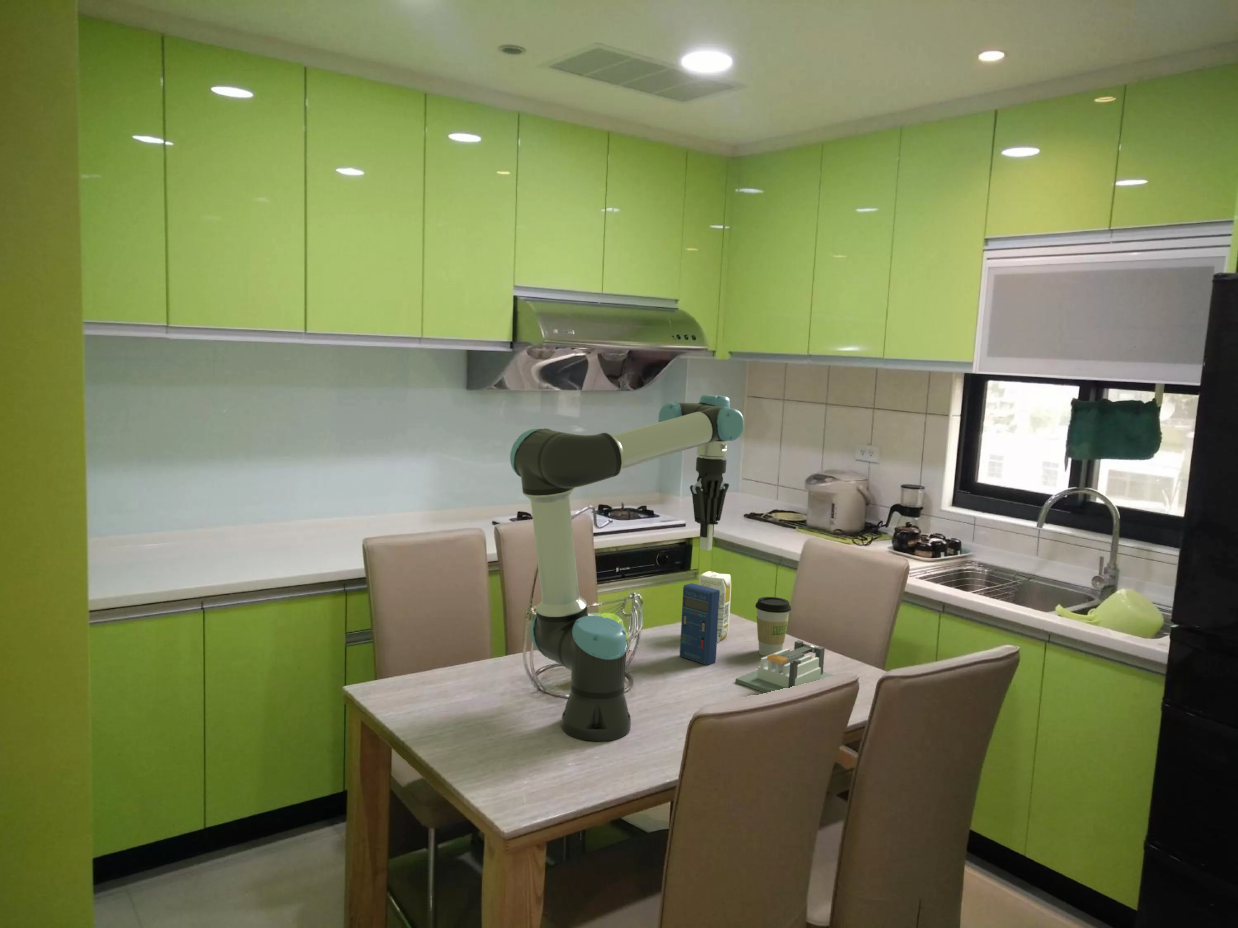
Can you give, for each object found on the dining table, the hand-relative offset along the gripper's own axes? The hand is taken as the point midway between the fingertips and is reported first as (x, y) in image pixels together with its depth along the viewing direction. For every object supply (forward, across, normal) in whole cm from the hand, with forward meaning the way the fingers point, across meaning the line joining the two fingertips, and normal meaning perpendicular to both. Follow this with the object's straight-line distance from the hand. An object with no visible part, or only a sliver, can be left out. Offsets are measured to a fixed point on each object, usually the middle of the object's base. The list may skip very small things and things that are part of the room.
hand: (705, 549), depth 227 cm
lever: (+26, +15, -18) cm, 36 cm away
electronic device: (+33, +9, +8) cm, 35 cm away
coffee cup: (+33, +29, -2) cm, 44 cm away
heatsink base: (+33, +15, -18) cm, 40 cm away
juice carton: (+33, +27, +17) cm, 46 cm away
